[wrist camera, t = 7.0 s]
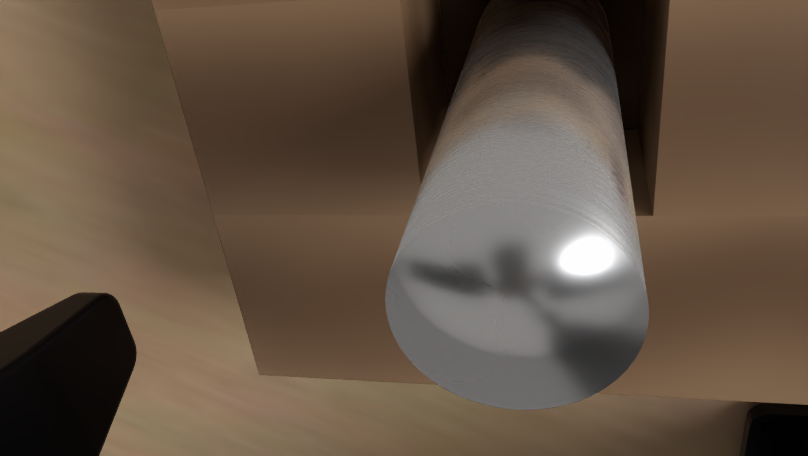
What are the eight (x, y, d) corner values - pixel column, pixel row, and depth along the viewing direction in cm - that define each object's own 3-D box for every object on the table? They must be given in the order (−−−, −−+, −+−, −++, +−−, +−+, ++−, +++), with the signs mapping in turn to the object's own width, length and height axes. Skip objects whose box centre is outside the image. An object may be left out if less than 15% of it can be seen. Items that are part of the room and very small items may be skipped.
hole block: (820, 294, 19) (873, 408, 15) (306, 281, 22) (259, 374, 18) (983, -416, 11) (1151, -489, 8) (180, -284, 15) (65, -298, 11)
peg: (607, 100, 17) (641, 418, 9) (480, 104, 18) (400, 402, 9) (611, -31, 16) (658, 203, 7) (472, -22, 16) (369, 204, 8)
